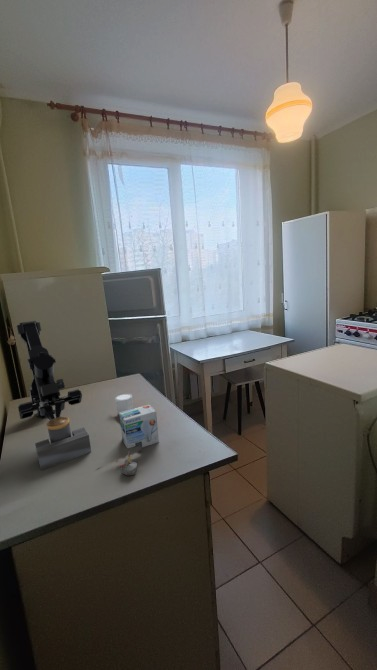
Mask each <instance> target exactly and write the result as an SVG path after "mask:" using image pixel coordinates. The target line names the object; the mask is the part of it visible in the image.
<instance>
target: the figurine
mask: <svg viewBox="0 0 377 670" xmlns="http://www.w3.org/2000/svg"><path fill="white" fill-rule="evenodd" d="M131 455H132V453H131V451H129V450H128V454H127V455H126V456H125V459H124V460H122V461H121V464H120V471H121V473H122V474H123V475H125V476H134V475H136V471H137V466H138V463H137V462H135V461H132V457H131Z"/></svg>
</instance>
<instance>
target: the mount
mask: <svg viewBox="0 0 377 670" xmlns="http://www.w3.org/2000/svg"><path fill="white" fill-rule="evenodd" d="M34 445H35V450H36V455H37V459H38V460H37V461H38V464H39V469H40V471H43V470H46V469H49V468H52V467H54V466H57V465H60V464H63V463H64V462H67V461H70V460H73V459H76V458H78V457H81V456H83V455H86V454H89V453H91V452H92V447H91V440H90V435H89V433H88V431H87V430H86V429H85V427H80V428H78V429H74V430H71V437H69V438H66V439H63V440H60V441H57V442H54V443H50V438H47V439H44V440H41V441H38V442H35V443H34Z"/></svg>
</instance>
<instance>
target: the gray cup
mask: <svg viewBox="0 0 377 670" xmlns="http://www.w3.org/2000/svg"><path fill="white" fill-rule="evenodd" d="M45 426H46V429H47V430H48V436H49V442H50V444H51V443H54V442H57V441H60V440H63V439H66V438H69V437H72V430H71V427H70V417H68V416H60V417H58V418H56V417H55V418H54V419H52V420H48V421H47V423H46V425H45Z"/></svg>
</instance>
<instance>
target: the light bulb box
mask: <svg viewBox="0 0 377 670" xmlns="http://www.w3.org/2000/svg"><path fill="white" fill-rule="evenodd" d="M119 414H120V416H119V422H120V424H119V425H120V431H121V438H122V442H123V443H124V445H125V447H126V449H130V448H134V447H136V446H139V447H140V448H142V449H143V448H145V447H148V446H151V445H154V444H157V443H159V442H160V440H159V439H160V437H159V426H158V417H157V416H158V415H157V411H156V410H155V409H154V407H152V405H150V404H145V405H142V406H139V407H136V408H133V409H131V410H127V411H124V412H120V413H119Z"/></svg>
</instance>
